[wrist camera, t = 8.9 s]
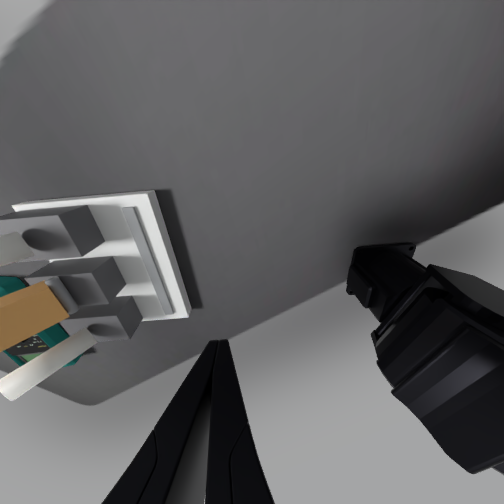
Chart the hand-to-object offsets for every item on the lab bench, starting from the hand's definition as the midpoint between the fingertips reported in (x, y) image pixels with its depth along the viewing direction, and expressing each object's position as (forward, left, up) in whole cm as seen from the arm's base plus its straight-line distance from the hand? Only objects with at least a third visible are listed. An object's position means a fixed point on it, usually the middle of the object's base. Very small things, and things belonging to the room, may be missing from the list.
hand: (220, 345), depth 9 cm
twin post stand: (+13, +2, -13) cm, 19 cm away
